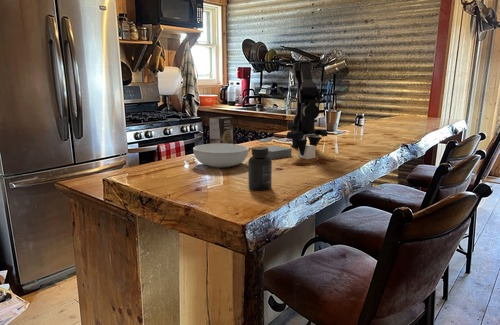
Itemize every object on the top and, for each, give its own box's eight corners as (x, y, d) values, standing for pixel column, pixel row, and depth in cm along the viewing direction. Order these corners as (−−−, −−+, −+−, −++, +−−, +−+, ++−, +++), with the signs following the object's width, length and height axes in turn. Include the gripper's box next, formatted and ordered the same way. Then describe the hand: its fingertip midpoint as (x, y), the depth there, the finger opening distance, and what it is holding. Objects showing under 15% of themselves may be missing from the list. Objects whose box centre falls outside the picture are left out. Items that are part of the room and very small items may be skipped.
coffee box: (221, 156, 153) (220, 118, 150) (209, 155, 156) (208, 117, 153) (233, 153, 161) (233, 116, 157) (222, 151, 164) (221, 116, 160)
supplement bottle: (271, 184, 110) (271, 146, 108) (271, 191, 104) (272, 150, 101) (248, 184, 111) (248, 146, 108) (247, 191, 104) (247, 150, 101)
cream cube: (306, 155, 155) (306, 144, 153) (315, 157, 151) (315, 145, 150) (298, 157, 152) (298, 145, 150) (306, 159, 148) (307, 147, 147)
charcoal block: (274, 153, 163) (274, 145, 163) (291, 156, 155) (291, 148, 154) (255, 155, 157) (255, 148, 156) (272, 160, 148) (272, 151, 147)
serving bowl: (242, 172, 125) (242, 153, 124) (185, 170, 129) (184, 151, 128) (253, 160, 145) (253, 143, 144) (204, 158, 149) (203, 142, 148)
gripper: (309, 114, 159) (308, 149, 163) (277, 117, 148) (277, 154, 152) (328, 116, 151) (327, 153, 154) (297, 119, 140) (296, 158, 143)
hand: (306, 154), depth 151 cm, fingers closed on cream cube, 5 cm apart
